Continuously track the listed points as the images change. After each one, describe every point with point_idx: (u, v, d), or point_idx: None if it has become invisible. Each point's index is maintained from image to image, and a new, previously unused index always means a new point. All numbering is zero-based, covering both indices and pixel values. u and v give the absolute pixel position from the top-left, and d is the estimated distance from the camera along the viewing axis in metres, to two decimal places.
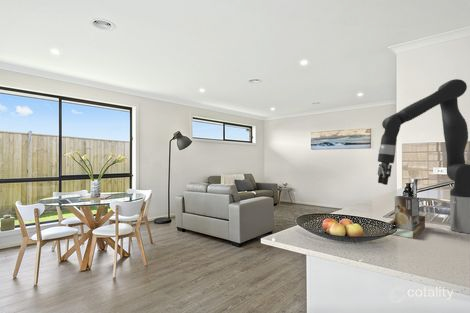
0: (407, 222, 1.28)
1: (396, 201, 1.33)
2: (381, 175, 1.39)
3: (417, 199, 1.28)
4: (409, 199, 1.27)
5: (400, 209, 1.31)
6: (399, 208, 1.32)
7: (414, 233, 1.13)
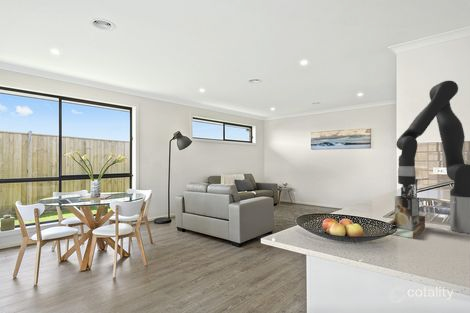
0: (407, 222, 1.28)
1: (396, 201, 1.33)
2: None
3: (417, 199, 1.28)
4: (409, 199, 1.27)
5: (400, 209, 1.31)
6: (399, 208, 1.32)
7: (414, 233, 1.13)
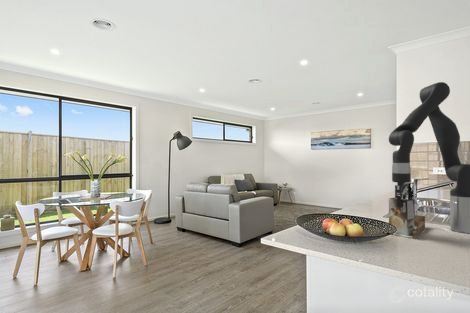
0: (402, 226, 1.19)
1: (390, 203, 1.24)
2: (403, 196, 1.25)
3: (412, 201, 1.19)
4: (404, 201, 1.18)
5: (394, 212, 1.22)
6: (393, 211, 1.22)
7: (414, 233, 1.13)
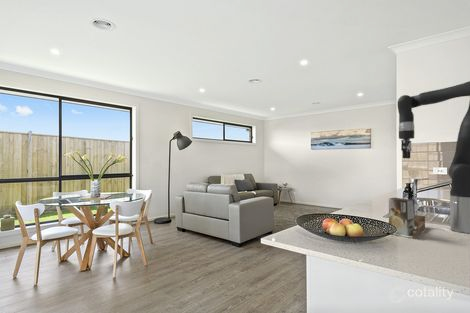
0: (402, 226, 1.19)
1: (390, 203, 1.24)
2: (408, 151, 1.50)
3: (412, 201, 1.19)
4: (404, 201, 1.18)
5: (394, 212, 1.22)
6: (393, 211, 1.22)
7: (414, 233, 1.13)
